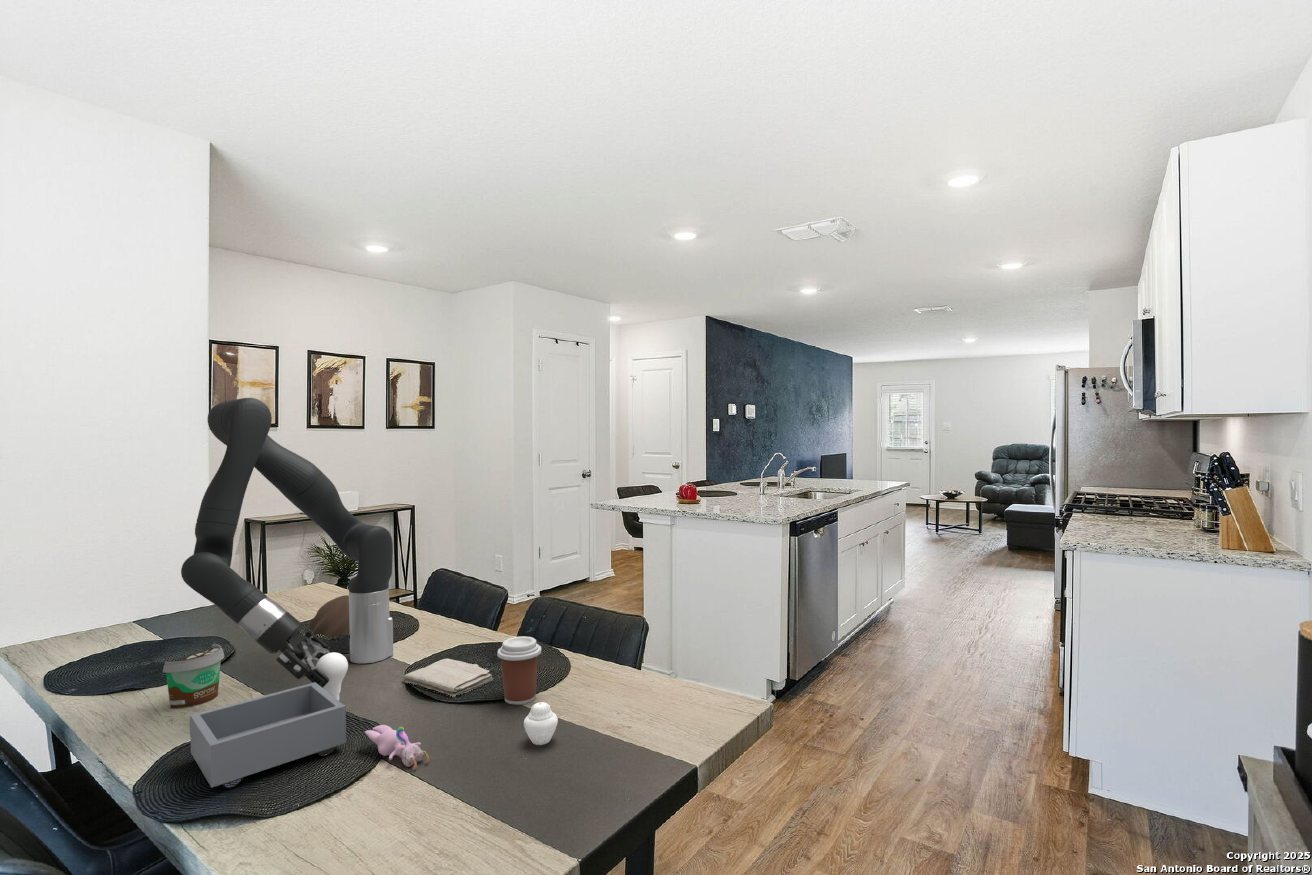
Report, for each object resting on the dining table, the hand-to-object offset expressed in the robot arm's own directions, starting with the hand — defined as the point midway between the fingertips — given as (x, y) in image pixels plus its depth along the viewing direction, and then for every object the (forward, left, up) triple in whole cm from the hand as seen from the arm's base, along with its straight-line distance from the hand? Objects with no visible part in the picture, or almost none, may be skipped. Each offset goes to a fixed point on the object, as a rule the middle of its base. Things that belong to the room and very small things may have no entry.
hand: (332, 676), depth 134 cm
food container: (+18, -24, -6) cm, 31 cm away
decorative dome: (-22, -54, -7) cm, 58 cm away
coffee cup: (-29, +25, -6) cm, 39 cm away
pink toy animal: (0, +30, -6) cm, 31 cm away
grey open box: (+15, +14, -6) cm, 21 cm away
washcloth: (-23, +5, -7) cm, 25 cm away
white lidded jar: (-21, +44, -6) cm, 49 cm away
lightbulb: (0, 0, -6) cm, 6 cm away
